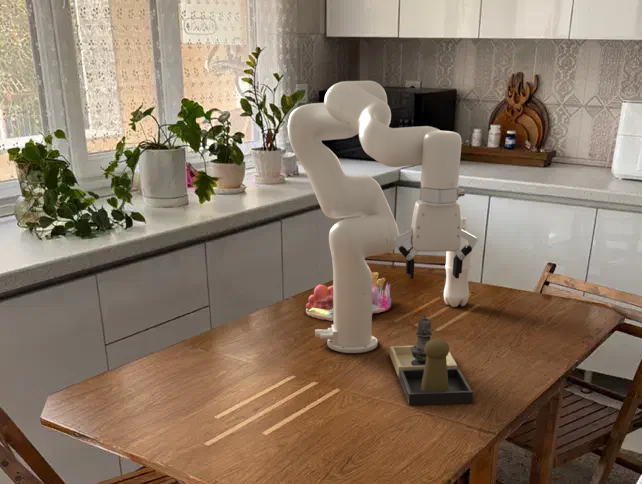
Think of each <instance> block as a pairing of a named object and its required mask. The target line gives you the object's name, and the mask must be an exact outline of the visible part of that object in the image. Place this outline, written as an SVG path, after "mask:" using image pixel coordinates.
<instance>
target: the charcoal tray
mask: <svg viewBox="0 0 642 484" xmlns="http://www.w3.org/2000/svg"><path fill="white" fill-rule="evenodd" d="M423 373H424V369H415V370H400V374H399V377H398V378H399V379H398V380H399V383H400V386H401V389H402V391H403V393H404V395H405V398H406V401H407V403H408V406H419V405H420V406H421V405H423V406H424V405H451V404H452V405H453V404H455V405H456V404H472V403H473V399H474V391H473V390H472V387H471V386H470V384H469V383H468V381H467V380H466V378H465V376H464V375H463V372H462V371H461V369H460V368H459V367H457V368H448V369H447V374H448V387H449V390H448V392H423V391H422V390H421V384H422V379H423Z"/></svg>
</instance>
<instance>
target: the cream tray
mask: <svg viewBox="0 0 642 484" xmlns="http://www.w3.org/2000/svg"><path fill="white" fill-rule="evenodd" d="M413 346H414V345H393V346H392V345H390V347H389V357H390V359H391V363H392V366H393V367H394V370H395V373H396V375H397V377H398V378H399V374H400V370H415V369H424V368H425V365H419V366H413V365H412V364H411V362H412V361H413V360H415V358H414V357H413V355H412V351H411V347H413ZM446 361H447V369H448V368H458V364H457V362H456V361H455V359H454V356H453V355H452V354H451V352H450V351H449V353H448V355H447V356H446Z"/></svg>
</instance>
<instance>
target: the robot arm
mask: <svg viewBox="0 0 642 484" xmlns="http://www.w3.org/2000/svg"><path fill="white" fill-rule="evenodd" d="M391 120H392V112H391V108H390V106H389V104H388V96H387V93H386V91H385V88H384V87H383V86H382V85H381V84H380V83H378V82H377V81H374V80H345V81H339V82H337V83H334V84H333V85H331V86H330V87H329V88H328V89H327V91H326V93H325V95H324V102H316V103H315V102H314V103H307V104H302V105H299V106H298V107H296V108H294V109H293V110H292V111H291V113H290V114H289V117H288V121H287V136H288V141H289V144H290V147H291V149H292V151H293V154H294V155H295V157H296V159H297V160H298V162H299V164H300V165H301V166H302V168H303V170H304V171H305V174H306V175H307V179H308V182H309V183H310V186H311V188H312V190H313V193H314V195H315V198H316V200H317V202H318V205H319V206H320V209H321V211H322V212H323V214H324V216H326V217H327V218H329V219H342V220H339V221H337V222H336V223H335V224H333V225H332V226H331V228H330V230H329V233H328V244H329V245H328V246H329V249H330V254H331V259H332V260H331V261H332V282H333V283H332V285H333V308H334V321H333V324H331V327H327V329H314V337H315V338H320V340H327V341H326V344H327V347H328V348H329V349H331V350H332V351H336V352H338V353H344V354H361V353H367V352H370V351H373V350H375V349H376V348H377V347H378V343H379V341H378V338H377V337H375V336H374V335H372V333H373V331H372V330H373V327H372V326H373V325H372V324H373V314H372V271H371V268H370V266H369V265H368V263H367V261H366V258H368V257H373V256H377V255H378V256H379V255H384V254H388V253H390V252H392V251H394V249H396V248H397V249H398V251H399V252H400V253H401V255H402V256H403V257H404V258H405V274H406V275H407V276H408V278H409V279H410V280H413V279H414V276H415V259H414V258H415V256H416V255H417V254H418V253H419V252H424V253H425V252H429V253H430V252H433V253H434V252H437V253H438V252H440V253H441V252H446V251H454V252H455V254H456V256H455V257H454V262H453V276H454V277H455V278H456V279H457V278H459V273H462V263H463V260H464V259H465V257H466V256H467V255H468V254H469V253H470V252H471V253H472V251H473V249H474V247H475V246H476V245H477V243H478V238H477V237H476V236H475V235H472V234H471V233H469V232H468V231H466V232H465V231H464V230H462V229H461V217H462V209H461V202H460V201H459V199H460V198H461V197H465V194H466V191H465V189H461V188H460V187H459V181H460V180H459V179H460V167H461V153H462V137H461V135H460V133H458V132H455V131H450V130H440V129H439V128H437V127H433V126H429V125H423V126H421V125H420V126H408V127H407V126H406V127H405V126H404V127H390V124H391ZM357 135H358V139H359V142H360V145H361V147H362V149H363V150H362V151H364V153H366V155H367V156H369V157H370V158H372V159H373V160H375V161H376V162H378V163H379V164H381V165H384V166H386V167H390V168H398V167H409V166H420V165H421V172H420V173H421V174H420V191H419V199H417V200H416V201H415V203H414V206H413V210H412V218H411V224H410V229H408V230H406V231H404V232H403V233H400V232H399V227H398V224H397V221H396V219H395V217H394V214H393V212H392V210H391V207H390V205H389V203H388V200H387V198H386V195H385V193H384V191H383V189H382V187H381V185H380V184H379V183H378V181H377V180H376V179H374V178H373V177H372V176H369V175H367V174H366V175H365V174H361V175H360V174H358V175H348V174H346V172H345V170H344V168H343V166H342V163H341V161H340V159H339V158H338V156H337V155H336V153H334V152H333V151H332V150H331V149H330V148H329V147H328V146H326V145H325V144H324V143H323V142H322V141H333V140H345V139H349V138H353V137H355V136H357ZM461 237H463V238H465V239H467V240H468V243H467V245H466V246H465V247H464V248H463V249H461V250H460V249H459V248H460V245H461ZM408 239H409V243H410V246H409V247H408V249H407V248H406V247H405V245H404V244H403V242H405V241H406V240H408Z"/></svg>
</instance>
